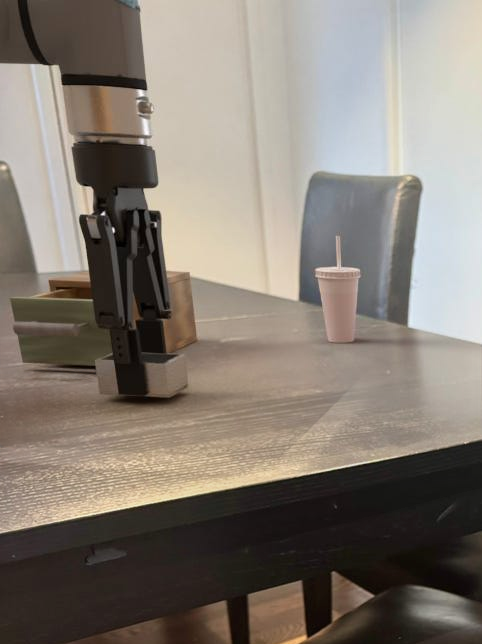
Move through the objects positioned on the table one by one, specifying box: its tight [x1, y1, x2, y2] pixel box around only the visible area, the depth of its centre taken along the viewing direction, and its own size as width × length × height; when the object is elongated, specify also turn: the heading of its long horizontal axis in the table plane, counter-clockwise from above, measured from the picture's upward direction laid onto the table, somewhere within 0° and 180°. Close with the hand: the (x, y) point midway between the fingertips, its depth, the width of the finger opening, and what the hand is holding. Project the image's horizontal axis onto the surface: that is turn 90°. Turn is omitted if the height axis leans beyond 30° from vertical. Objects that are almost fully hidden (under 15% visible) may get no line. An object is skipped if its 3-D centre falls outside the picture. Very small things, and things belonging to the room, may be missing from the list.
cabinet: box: [47, 270, 198, 353], centre depth 121 cm, size 15×13×9 cm
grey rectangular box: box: [94, 352, 190, 399], centre depth 97 cm, size 8×6×4 cm
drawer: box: [9, 287, 144, 367], centre depth 110 cm, size 18×11×7 cm, turn 175°
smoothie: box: [314, 235, 362, 344], centre depth 129 cm, size 6×6×14 cm
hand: (145, 387), depth 97 cm, fingers closed on grey rectangular box, 5 cm apart
